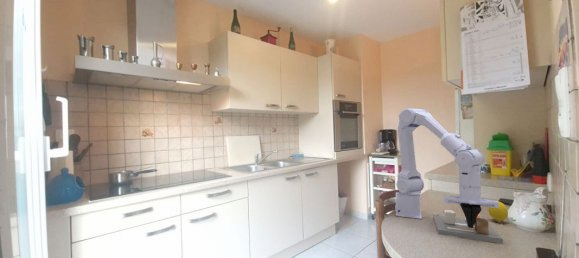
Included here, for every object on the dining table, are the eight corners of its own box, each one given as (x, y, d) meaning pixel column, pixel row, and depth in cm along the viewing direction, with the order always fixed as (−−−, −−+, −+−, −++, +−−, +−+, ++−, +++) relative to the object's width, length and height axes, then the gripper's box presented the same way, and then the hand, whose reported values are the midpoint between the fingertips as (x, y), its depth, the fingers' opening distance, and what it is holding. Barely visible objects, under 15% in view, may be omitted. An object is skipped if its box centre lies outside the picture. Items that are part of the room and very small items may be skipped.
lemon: (511, 225, 89) (511, 203, 89) (494, 224, 90) (494, 202, 90) (501, 219, 94) (501, 199, 94) (485, 218, 95) (485, 198, 95)
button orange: (468, 219, 87) (468, 213, 87) (466, 216, 90) (466, 210, 90) (481, 221, 86) (481, 215, 86) (478, 217, 89) (478, 212, 89)
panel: (438, 234, 82) (438, 226, 82) (433, 218, 96) (432, 212, 96) (502, 243, 74) (502, 235, 74) (486, 225, 89) (486, 218, 89)
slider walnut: (476, 232, 78) (476, 220, 78) (474, 229, 81) (474, 217, 81) (488, 234, 77) (488, 221, 77) (485, 230, 80) (485, 218, 80)
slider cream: (445, 223, 87) (445, 212, 87) (444, 220, 89) (444, 209, 89) (455, 224, 85) (455, 213, 85) (453, 221, 88) (453, 210, 88)
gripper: (445, 186, 80) (446, 227, 80) (502, 190, 74) (502, 235, 74) (442, 182, 86) (443, 220, 86) (494, 185, 80) (494, 226, 80)
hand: (470, 226), depth 80 cm, fingers closed
